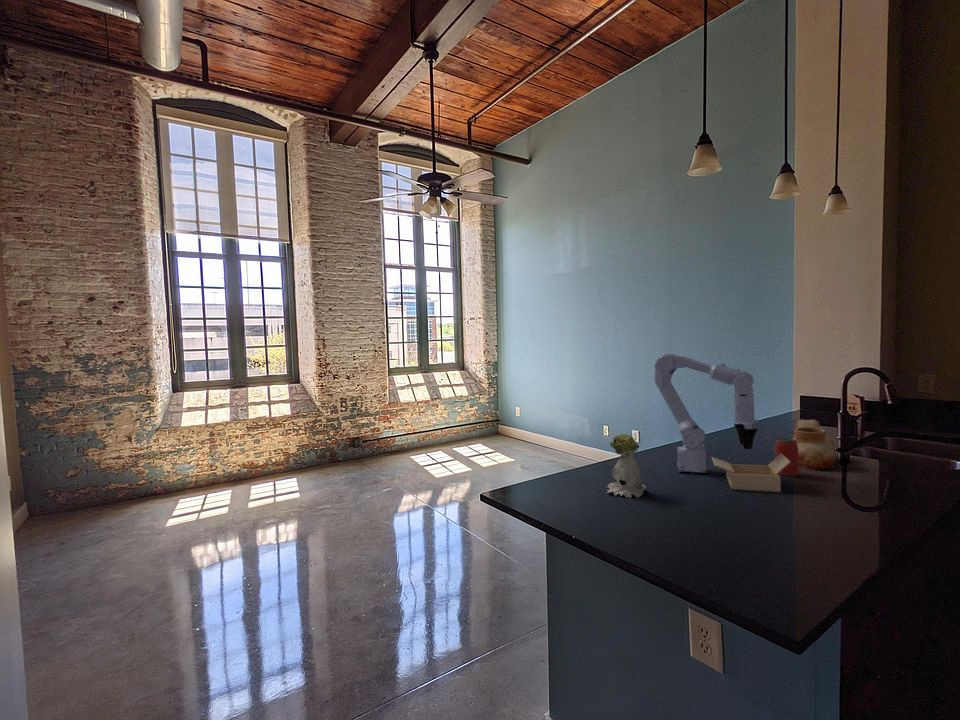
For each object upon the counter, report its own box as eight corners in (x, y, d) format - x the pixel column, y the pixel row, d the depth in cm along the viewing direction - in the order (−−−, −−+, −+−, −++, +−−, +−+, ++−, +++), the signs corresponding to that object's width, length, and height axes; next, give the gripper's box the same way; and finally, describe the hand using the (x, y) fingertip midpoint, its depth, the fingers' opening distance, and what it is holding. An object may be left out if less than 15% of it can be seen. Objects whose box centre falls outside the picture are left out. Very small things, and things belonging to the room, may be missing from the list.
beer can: (803, 476, 155) (802, 441, 155) (783, 477, 155) (782, 441, 155) (790, 471, 161) (789, 437, 161) (771, 472, 162) (770, 438, 161)
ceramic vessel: (831, 456, 180) (829, 418, 179) (840, 472, 157) (838, 429, 157) (788, 453, 187) (787, 416, 187) (791, 468, 165) (789, 427, 165)
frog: (644, 486, 152) (642, 431, 152) (646, 499, 140) (644, 438, 139) (607, 485, 156) (605, 431, 155) (606, 497, 143) (604, 438, 143)
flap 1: (734, 471, 145) (733, 472, 145) (729, 463, 156) (729, 464, 156) (715, 464, 147) (714, 466, 147) (711, 456, 158) (711, 457, 158)
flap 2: (789, 461, 139) (791, 462, 139) (781, 453, 150) (782, 453, 150) (775, 473, 141) (776, 474, 141) (767, 464, 151) (768, 465, 151)
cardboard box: (731, 489, 145) (731, 473, 145) (726, 478, 157) (726, 463, 157) (780, 492, 140) (780, 476, 140) (771, 480, 152) (771, 465, 152)
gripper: (761, 409, 149) (763, 451, 149) (754, 404, 162) (755, 442, 163) (737, 409, 152) (738, 450, 152) (731, 404, 165) (733, 442, 165)
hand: (745, 446), depth 157 cm, fingers open, 7 cm apart
